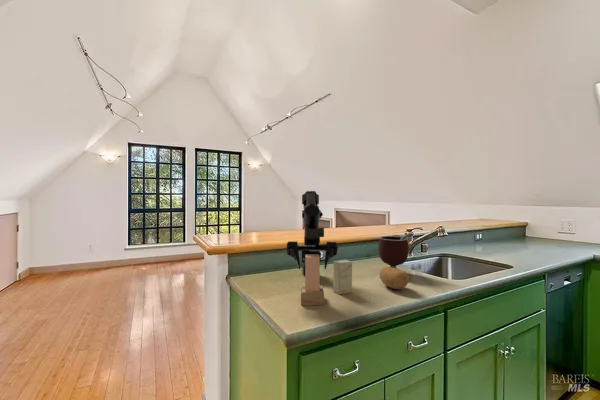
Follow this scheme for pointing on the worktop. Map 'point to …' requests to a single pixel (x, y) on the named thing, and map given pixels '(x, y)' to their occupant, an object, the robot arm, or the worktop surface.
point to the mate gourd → (393, 250)
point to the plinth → (312, 297)
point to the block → (312, 272)
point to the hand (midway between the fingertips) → (312, 268)
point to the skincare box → (342, 276)
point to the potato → (394, 277)
